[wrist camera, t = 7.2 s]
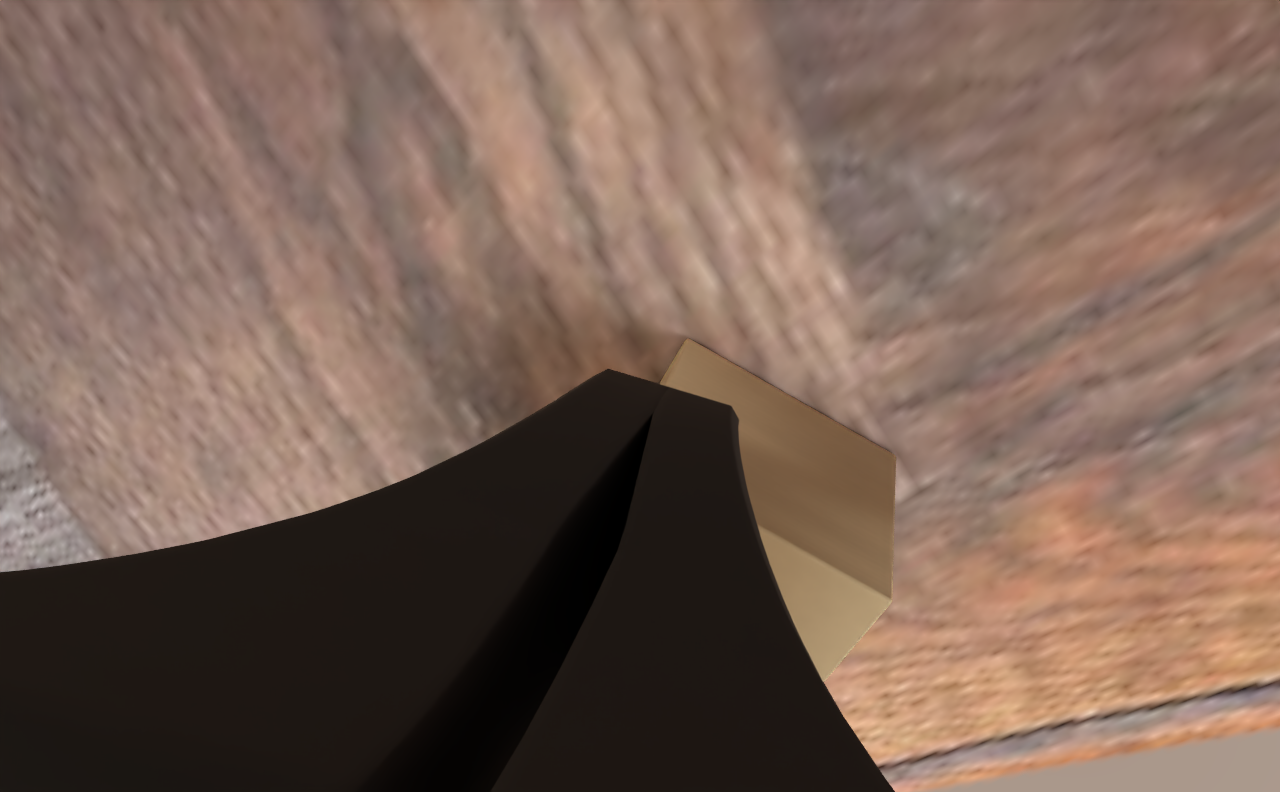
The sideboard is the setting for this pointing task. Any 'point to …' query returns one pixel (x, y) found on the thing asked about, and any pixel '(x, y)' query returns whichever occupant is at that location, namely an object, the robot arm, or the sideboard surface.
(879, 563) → the block
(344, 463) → the sideboard surface
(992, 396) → the sideboard surface
